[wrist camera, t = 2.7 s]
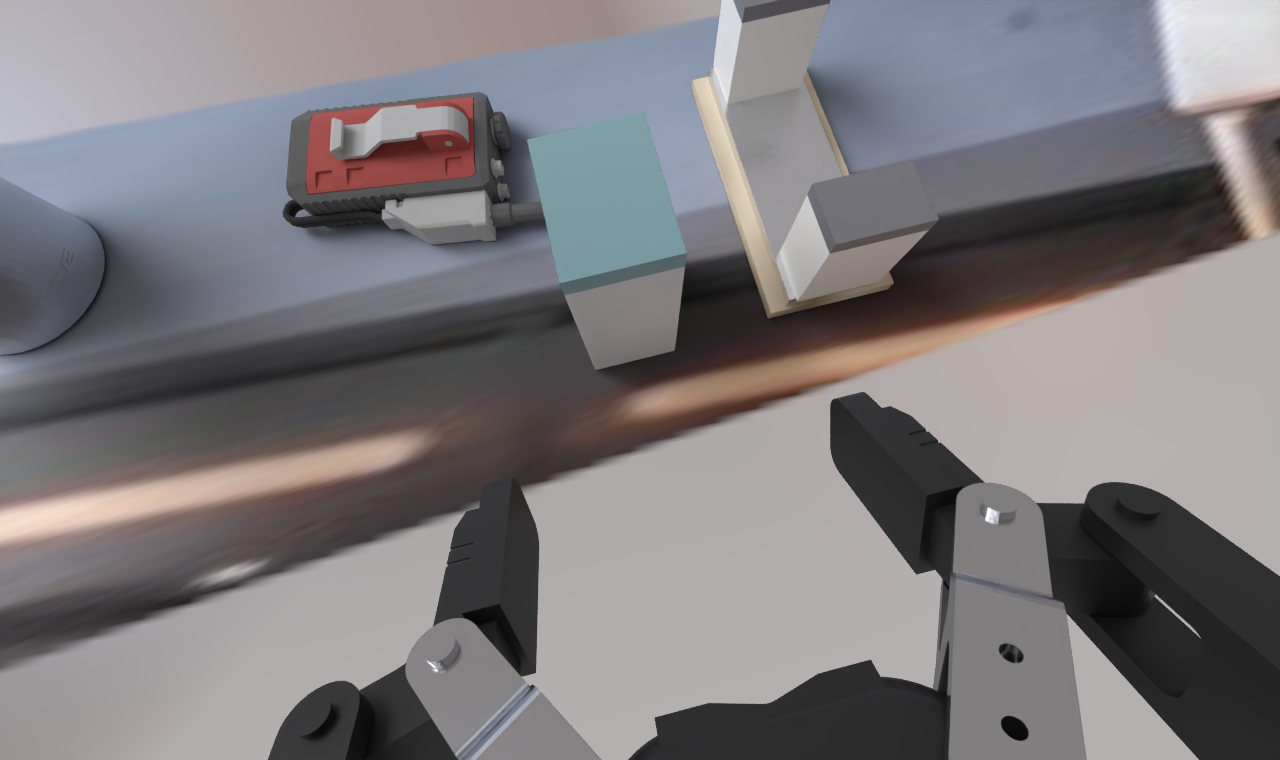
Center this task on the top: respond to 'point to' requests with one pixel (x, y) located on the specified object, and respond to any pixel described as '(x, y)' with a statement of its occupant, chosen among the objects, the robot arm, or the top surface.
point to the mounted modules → (833, 209)
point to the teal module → (612, 237)
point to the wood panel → (745, 212)
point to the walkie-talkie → (405, 168)
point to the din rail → (777, 162)
